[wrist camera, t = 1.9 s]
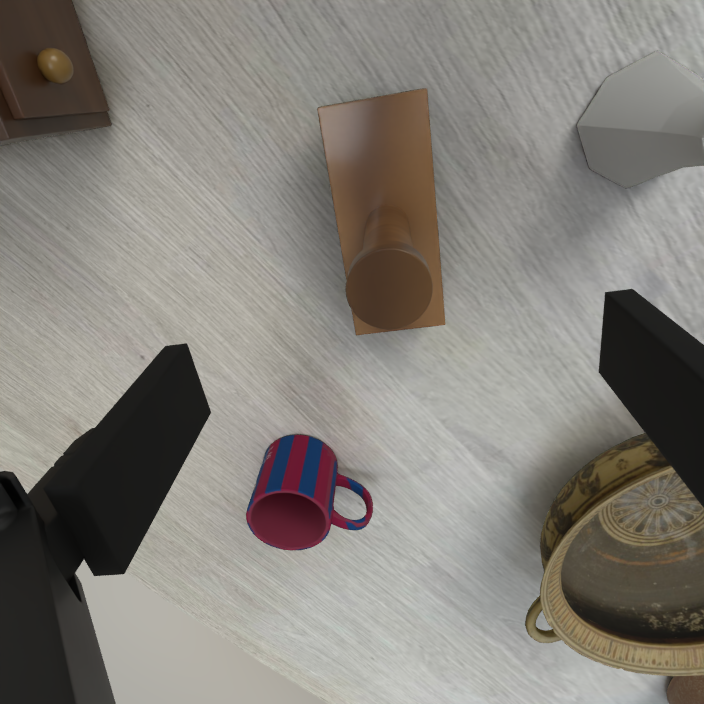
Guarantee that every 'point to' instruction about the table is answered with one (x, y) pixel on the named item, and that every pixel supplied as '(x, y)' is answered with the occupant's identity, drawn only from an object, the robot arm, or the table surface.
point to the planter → (686, 690)
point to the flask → (645, 122)
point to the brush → (385, 209)
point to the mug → (300, 495)
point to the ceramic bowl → (625, 565)
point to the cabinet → (46, 73)
